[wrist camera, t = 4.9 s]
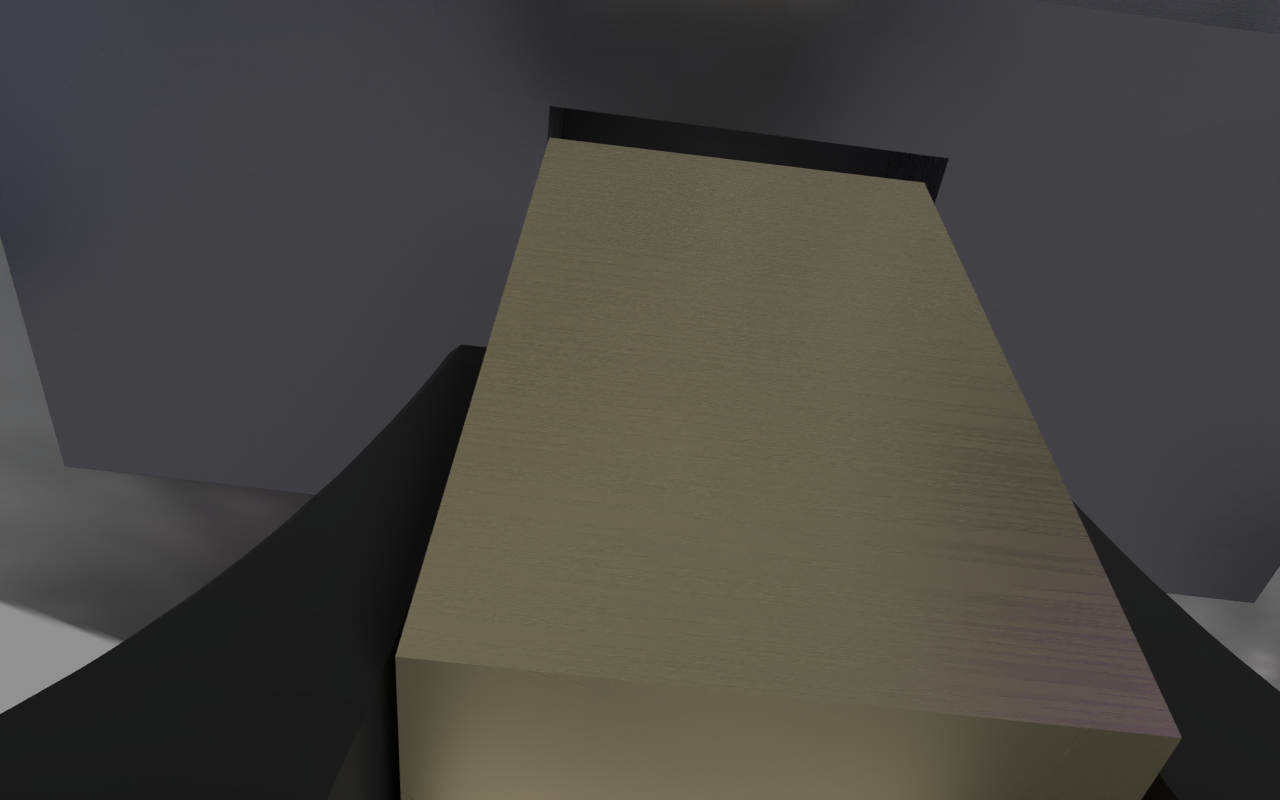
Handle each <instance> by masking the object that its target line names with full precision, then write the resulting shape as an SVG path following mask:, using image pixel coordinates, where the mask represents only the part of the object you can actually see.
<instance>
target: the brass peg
mask: <svg viewBox="0 0 1280 800" xmlns="http://www.w3.org/2000/svg"><path fill="white" fill-rule="evenodd" d="M395 662H396V687H397V713H398V738H399V764H400V789H401V800H1141V799H1142V798H1143V796H1144V795H1145V793H1146V792H1147V790H1148V789H1149V787H1150V786H1151V784H1152V783H1153V781H1154V780H1155V778H1156V777H1157V775H1158V774H1159V772H1160V771H1161V769H1162V768H1163V766H1164V765H1165V763H1166V762H1167V760H1168V758H1169V757H1170V755H1171V754H1172V752H1173V751H1174V749H1175V748H1176V746H1177V745H1178V743H1179V742H1180V740H1181V739H1182V737H1181V734H1180V732H1179V730H1178V728H1177V726H1176V724H1175V722H1174V719H1173V717H1172V715H1171V713H1170V711H1169V709H1168V706H1167V704H1166V702H1165V700H1164V698H1163V696H1162V694H1161V691H1160V689H1159V687H1158V685H1157V683H1156V681H1155V678H1154V676H1153V674H1152V672H1151V670H1150V668H1149V666H1148V663H1147V661H1146V659H1145V657H1144V655H1143V653H1142V650H1141V648H1140V646H1139V644H1138V642H1137V640H1136V638H1135V635H1134V633H1133V631H1132V629H1131V627H1130V625H1129V622H1128V620H1127V618H1126V616H1125V614H1124V612H1123V610H1122V607H1121V605H1120V603H1119V601H1118V599H1117V597H1116V594H1115V592H1114V590H1113V588H1112V586H1111V584H1110V582H1109V579H1108V577H1107V575H1106V573H1105V571H1104V569H1103V566H1102V564H1101V562H1100V560H1099V558H1098V556H1097V554H1096V551H1095V549H1094V547H1093V545H1092V543H1091V541H1090V538H1089V536H1088V534H1087V532H1086V530H1085V528H1084V526H1083V523H1082V521H1081V519H1080V517H1079V515H1078V513H1077V510H1076V508H1075V506H1074V504H1073V502H1072V500H1071V498H1070V495H1069V493H1068V491H1067V489H1066V487H1065V485H1064V482H1063V480H1062V478H1061V476H1060V474H1059V472H1058V470H1057V467H1056V465H1055V463H1054V461H1053V459H1052V457H1051V454H1050V452H1049V450H1048V448H1047V446H1046V444H1045V442H1044V439H1043V437H1042V435H1041V433H1040V431H1039V429H1038V426H1037V424H1036V422H1035V420H1034V418H1033V416H1032V414H1031V411H1030V409H1029V407H1028V405H1027V403H1026V401H1025V398H1024V396H1023V394H1022V392H1021V390H1020V388H1019V386H1018V383H1017V381H1016V379H1015V377H1014V375H1013V373H1012V370H1011V368H1010V366H1009V364H1008V362H1007V360H1006V358H1005V355H1004V353H1003V351H1002V349H1001V347H1000V345H999V342H998V340H997V338H996V336H995V334H994V332H993V330H992V327H991V325H990V323H989V321H988V319H987V317H986V315H985V312H984V310H983V308H982V306H981V304H980V302H979V299H978V297H977V295H976V293H975V291H974V289H973V287H972V284H971V282H970V280H969V278H968V276H967V274H966V271H965V269H964V267H963V265H962V263H961V261H960V259H959V256H958V254H957V252H956V250H955V248H954V246H953V243H952V241H951V239H950V237H949V235H948V233H947V231H946V228H945V226H944V224H943V222H942V220H941V218H940V215H939V213H938V211H937V209H936V207H935V205H934V203H933V200H932V198H931V196H930V194H929V192H928V190H927V187H926V185H925V183H922V182H914V181H905V180H897V179H889V178H880V177H872V176H864V175H855V174H847V173H839V172H831V171H822V170H814V169H806V168H797V167H789V166H781V165H773V164H764V163H756V162H748V161H739V160H731V159H723V158H714V157H706V156H698V155H690V154H681V153H673V152H665V151H656V150H648V149H640V148H631V147H623V146H615V145H607V144H598V143H590V142H582V141H573V140H565V139H557V138H549V140H548V144H547V147H546V151H545V154H544V157H543V161H542V164H541V167H540V171H539V174H538V178H537V181H536V184H535V188H534V191H533V194H532V198H531V201H530V205H529V208H528V211H527V215H526V218H525V221H524V225H523V228H522V231H521V235H520V238H519V242H518V245H517V248H516V252H515V255H514V258H513V262H512V265H511V269H510V272H509V275H508V279H507V282H506V285H505V289H504V292H503V295H502V299H501V302H500V306H499V309H498V312H497V316H496V319H495V322H494V326H493V329H492V333H491V336H490V339H489V343H488V346H487V349H486V353H485V356H484V359H483V363H482V366H481V370H480V373H479V376H478V380H477V383H476V386H475V390H474V393H473V397H472V400H471V403H470V407H469V410H468V413H467V417H466V420H465V424H464V427H463V430H462V434H461V437H460V440H459V444H458V447H457V450H456V454H455V457H454V461H453V464H452V467H451V471H450V474H449V477H448V481H447V484H446V488H445V491H444V494H443V498H442V501H441V504H440V508H439V511H438V514H437V518H436V521H435V525H434V528H433V531H432V535H431V538H430V541H429V545H428V548H427V552H426V555H425V558H424V562H423V565H422V568H421V572H420V575H419V578H418V582H417V585H416V589H415V592H414V595H413V599H412V602H411V605H410V609H409V612H408V616H407V619H406V622H405V626H404V629H403V632H402V636H401V639H400V642H399V646H398V649H397V653H396V656H395Z"/></svg>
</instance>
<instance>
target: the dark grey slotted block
mask: <svg viewBox="0 0 1280 800" xmlns="http://www.w3.org/2000/svg"><path fill="white" fill-rule="evenodd" d="M565 108H569V109H577V110H585V111H592V112H600V113H608V114H615V115H623V116H630V117H638V118H646V119H653V120H661V121H669V122H676V123H684V124H691V125H699V126H707V127H714V128H722V129H730V130H737V131H745V132H752V133H760V134H768V135H775V136H783V137H790V138H798V139H806V140H813V141H821V142H829V143H836V144H844V145H851V146H859V147H867V148H874V149H882V150H890V151H893V153H892V156H891V160H890V164H889V167H888V171H887V174H886V178H889V179H897V180H905V181H914V182H922V183H925V185H926V187H927V190H928V192H929V194H930V196H931V198H932V200H933V203H934V205H935V207H936V209H937V211H938V213H939V215H940V218H941V220H942V222H943V224H944V226H945V228H946V231H947V233H948V235H949V237H950V239H951V241H952V243H953V246H954V248H955V250H956V252H957V254H958V256H959V259H960V261H961V263H962V265H963V267H964V269H965V271H966V274H967V276H968V278H969V280H970V282H971V284H972V287H973V289H974V291H975V293H976V295H977V297H978V299H979V302H980V304H981V306H982V308H983V310H984V312H985V315H986V317H987V319H988V321H989V323H990V325H991V327H992V330H993V332H994V334H995V336H996V338H997V340H998V342H999V345H1000V347H1001V349H1002V351H1003V353H1004V355H1005V358H1006V360H1007V362H1008V364H1009V366H1010V368H1011V370H1012V373H1013V375H1014V377H1015V379H1016V381H1017V383H1018V386H1019V388H1020V390H1021V392H1022V394H1023V396H1024V398H1025V401H1026V403H1027V405H1028V407H1029V409H1030V411H1031V414H1032V416H1033V418H1034V420H1035V422H1036V424H1037V426H1038V429H1039V431H1040V433H1041V435H1042V437H1043V439H1044V442H1045V444H1046V446H1047V448H1048V450H1049V452H1050V454H1051V457H1052V459H1053V461H1054V463H1055V465H1056V467H1057V470H1058V472H1059V474H1060V476H1061V478H1062V480H1063V482H1064V485H1065V487H1066V489H1067V491H1068V493H1069V495H1070V498H1071V499H1072V500H1073V502H1074V503H1075V504H1076V505H1077V506H1078V507H1079V508H1080V509H1081V510H1082V511H1083V512H1084V513H1085V514H1086V515H1087V516H1088V517H1089V518H1090V519H1091V520H1092V521H1093V522H1094V523H1095V524H1096V525H1097V527H1098V528H1099V529H1100V530H1101V531H1102V532H1103V533H1104V534H1105V535H1106V536H1107V537H1108V538H1109V539H1110V540H1111V541H1112V542H1113V543H1114V544H1115V545H1116V546H1117V547H1118V548H1119V549H1120V550H1121V551H1122V552H1123V553H1124V554H1125V555H1126V556H1127V557H1128V558H1129V559H1130V560H1131V561H1132V562H1133V563H1134V564H1135V565H1136V566H1137V567H1138V568H1140V569H1141V570H1142V571H1143V572H1144V573H1145V574H1146V575H1147V576H1148V577H1149V578H1150V579H1151V580H1152V581H1153V582H1154V583H1155V584H1156V585H1157V586H1158V587H1159V588H1161V589H1162V590H1163V591H1164V592H1165V593H1172V594H1180V595H1189V596H1198V597H1207V598H1215V599H1224V600H1233V601H1241V602H1250V603H1254V602H1255V601H1256V599H1257V598H1258V596H1259V595H1260V594H1261V592H1262V591H1263V589H1264V588H1265V586H1266V585H1267V584H1268V582H1269V581H1270V579H1271V578H1272V576H1273V575H1274V573H1275V572H1276V571H1277V569H1278V568H1279V566H1280V0H0V236H1V240H2V243H3V247H4V250H5V254H6V258H7V261H8V265H9V268H10V272H11V276H12V279H13V283H14V286H15V290H16V293H17V297H18V301H19V304H20V308H21V311H22V315H23V318H24V322H25V326H26V329H27V333H28V336H29V340H30V344H31V347H32V351H33V354H34V358H35V361H36V365H37V369H38V372H39V376H40V379H41V383H42V386H43V390H44V394H45V397H46V401H47V404H48V408H49V411H50V415H51V419H52V422H53V426H54V429H55V433H56V437H57V440H58V444H59V447H60V451H61V454H62V458H63V462H64V465H65V466H69V467H78V468H86V469H95V470H104V471H113V472H121V473H130V474H139V475H147V476H156V477H165V478H173V479H182V480H191V481H199V482H208V483H217V484H225V485H234V486H243V487H251V488H260V489H269V490H277V491H286V492H295V493H304V494H312V495H316V494H317V493H319V492H320V491H321V490H322V489H323V488H324V487H325V486H326V485H327V484H328V483H330V482H331V481H332V480H333V479H334V478H335V477H336V476H337V475H338V474H339V473H340V472H341V471H343V470H344V469H345V468H346V467H347V466H348V465H349V464H350V463H351V462H352V461H353V460H354V459H355V458H356V457H357V456H358V455H359V454H360V453H361V452H362V450H363V449H364V448H365V447H366V446H367V445H368V444H369V443H370V442H371V441H372V440H373V439H374V438H375V437H376V436H377V435H378V434H379V433H380V432H381V431H382V430H383V429H384V428H385V427H386V426H387V425H388V424H389V423H390V422H391V421H392V420H393V419H394V417H395V416H396V415H397V414H398V413H399V412H400V411H401V410H402V409H403V407H404V406H405V405H406V404H407V403H408V402H409V401H410V400H411V399H412V397H413V396H414V395H415V394H416V393H417V392H418V391H419V389H420V388H421V387H422V386H423V385H424V384H425V382H426V381H427V380H428V379H429V378H430V376H431V375H432V374H433V373H434V372H435V370H436V369H437V368H438V367H439V366H440V364H441V363H442V362H443V360H444V359H445V358H446V357H447V355H448V354H449V353H450V352H451V351H453V350H454V349H455V348H457V347H458V346H460V345H461V344H462V345H471V346H480V347H487V346H488V343H489V339H490V336H491V333H492V329H493V326H494V322H495V319H496V316H497V312H498V309H499V306H500V302H501V299H502V295H503V292H504V289H505V285H506V282H507V279H508V275H509V272H510V269H511V265H512V262H513V258H514V255H515V252H516V248H517V245H518V242H519V238H520V235H521V231H522V228H523V225H524V221H525V218H526V215H527V211H528V208H529V205H530V201H531V198H532V194H533V191H534V188H535V184H536V181H537V178H538V174H539V171H540V167H541V164H542V161H543V157H544V154H545V151H546V147H547V144H548V140H549V138H557V139H562V135H563V122H564V109H565Z"/></svg>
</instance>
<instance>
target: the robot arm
mask: <svg viewBox="0 0 1280 800" xmlns="http://www.w3.org/2000/svg"><path fill="white" fill-rule="evenodd" d="M486 349H487V347H480V346H471V345H462V344H461V345H460V346H458V347H457V348H455V349H454V350H453V351H451V352H450V353H449V354H448V355H447V357H446V358H445V359H444V360H443V362H442V363H441V364H440V366H439V367H438V368H437V369H436V370H435V372H434V373H433V374H432V375H431V376H430V378H429V379H428V380H427V381H426V382H425V384H424V385H423V386H422V387H421V388H420V389H419V391H418V392H417V393H416V394H415V395H414V396H413V397H412V399H411V400H410V401H409V402H408V403H407V404H406V405H405V406H404V407H403V409H402V410H401V411H400V412H399V413H398V414H397V415H396V416H395V417H394V419H393V420H392V421H391V422H390V423H389V424H388V425H387V426H386V427H385V428H384V429H383V430H382V431H381V432H380V433H379V434H378V435H377V436H376V437H375V438H374V439H373V440H372V441H371V442H370V443H369V444H368V445H367V446H366V447H365V448H364V449H363V450H362V452H361V453H360V454H359V455H358V456H357V457H356V458H355V459H354V460H353V461H352V462H351V463H350V464H349V465H348V466H347V467H346V468H345V469H344V470H343V471H341V472H340V473H339V474H338V475H337V476H336V477H335V478H334V479H333V480H332V481H331V482H330V483H328V484H327V485H326V486H325V487H324V488H323V489H322V490H321V491H320V492H319V493H317V494H316V495H315V496H314V497H313V498H312V499H311V500H310V501H309V502H307V503H306V504H305V505H304V506H303V507H302V508H301V509H300V510H299V511H298V512H296V513H295V514H294V515H293V516H292V517H291V518H290V519H289V520H288V521H286V522H285V523H284V524H283V525H282V526H281V527H279V528H278V529H277V530H276V531H275V532H273V533H272V534H271V535H270V536H269V537H267V538H266V539H265V540H264V541H262V542H261V543H260V544H259V545H258V546H256V547H255V548H254V549H253V550H251V551H250V552H249V553H248V554H246V555H245V556H244V557H243V558H241V559H240V560H239V561H237V562H236V563H235V564H233V565H232V566H231V567H229V568H228V569H227V570H225V571H224V572H223V573H221V574H220V575H219V576H217V577H216V578H215V579H214V580H212V581H211V582H210V583H208V584H207V585H206V586H204V587H203V588H201V589H200V590H199V591H197V592H196V593H195V594H193V595H192V596H190V597H189V598H187V599H186V600H184V601H183V602H181V603H180V604H179V605H177V606H176V607H174V608H173V609H171V610H170V611H168V612H167V613H165V614H164V615H162V616H161V617H159V618H158V619H157V620H155V621H154V622H152V623H151V624H149V625H148V626H146V627H145V628H143V629H142V630H140V631H139V632H137V633H136V634H135V635H133V636H131V637H130V638H128V639H127V640H125V641H124V642H122V643H121V644H119V645H118V646H116V647H115V648H113V649H111V650H110V651H108V652H107V653H105V654H103V655H102V656H100V657H99V658H97V659H95V660H94V661H92V662H91V663H89V664H87V665H86V666H84V667H82V668H81V669H79V670H77V671H75V672H74V673H72V674H71V675H68V676H67V677H65V678H63V679H61V680H60V681H58V682H56V683H55V684H53V685H51V686H49V687H47V688H46V689H44V690H42V691H40V692H39V693H37V694H35V695H34V696H32V697H30V698H28V699H26V700H25V701H23V702H21V703H19V704H18V705H16V706H14V707H12V708H11V709H9V710H7V711H5V712H3V713H2V714H0V800H401V789H400V764H399V738H398V713H397V687H396V662H395V656H396V653H397V649H398V646H399V642H400V639H401V636H402V632H403V629H404V626H405V622H406V619H407V616H408V612H409V609H410V605H411V602H412V599H413V595H414V592H415V589H416V585H417V582H418V578H419V575H420V572H421V568H422V565H423V562H424V558H425V555H426V552H427V548H428V545H429V541H430V538H431V535H432V531H433V528H434V525H435V521H436V518H437V514H438V511H439V508H440V504H441V501H442V498H443V494H444V491H445V488H446V484H447V481H448V477H449V474H450V471H451V467H452V464H453V461H454V457H455V454H456V450H457V447H458V444H459V440H460V437H461V434H462V430H463V427H464V424H465V420H466V417H467V413H468V410H469V407H470V403H471V400H472V397H473V393H474V390H475V386H476V383H477V380H478V376H479V373H480V370H481V366H482V363H483V359H484V356H485V353H486ZM1071 500H1072V499H1071ZM1072 502H1073V500H1072ZM1073 504H1074V506H1075V508H1076V510H1077V513H1078V515H1079V517H1080V519H1081V521H1082V523H1083V526H1084V528H1085V530H1086V532H1087V534H1088V536H1089V538H1090V541H1091V543H1092V545H1093V547H1094V549H1095V551H1096V554H1097V556H1098V558H1099V560H1100V562H1101V564H1102V566H1103V569H1104V571H1105V573H1106V575H1107V577H1108V579H1109V582H1110V584H1111V586H1112V588H1113V590H1114V592H1115V594H1116V597H1117V599H1118V601H1119V603H1120V605H1121V607H1122V610H1123V612H1124V614H1125V616H1126V618H1127V620H1128V622H1129V625H1130V627H1131V629H1132V631H1133V633H1134V635H1135V638H1136V640H1137V642H1138V644H1139V646H1140V648H1141V650H1142V653H1143V655H1144V657H1145V659H1146V661H1147V663H1148V666H1149V668H1150V670H1151V672H1152V674H1153V676H1154V678H1155V681H1156V683H1157V685H1158V687H1159V689H1160V691H1161V694H1162V696H1163V698H1164V700H1165V702H1166V704H1167V706H1168V709H1169V711H1170V713H1171V715H1172V717H1173V719H1174V722H1175V724H1176V726H1177V728H1178V730H1179V732H1180V734H1181V737H1182V739H1181V740H1180V742H1179V743H1178V745H1177V746H1176V748H1175V749H1174V751H1173V752H1172V754H1171V755H1170V757H1169V758H1168V760H1167V762H1166V763H1165V765H1164V766H1163V768H1162V769H1161V771H1160V772H1159V774H1158V775H1157V777H1156V778H1155V780H1154V781H1153V783H1152V784H1151V786H1150V787H1149V789H1148V790H1147V792H1146V793H1145V795H1144V796H1143V798H1142V799H1141V800H1280V691H1278V690H1277V689H1276V688H1275V687H1274V686H1272V685H1271V684H1270V683H1269V682H1267V681H1266V680H1265V679H1264V678H1262V677H1261V676H1260V675H1259V674H1257V673H1256V672H1255V671H1254V670H1252V669H1251V668H1250V667H1249V666H1248V665H1246V664H1245V663H1244V662H1243V661H1241V660H1240V659H1239V658H1238V657H1236V656H1235V655H1234V654H1233V653H1232V652H1231V651H1229V650H1228V649H1227V648H1226V647H1225V646H1224V645H1222V644H1221V643H1220V642H1219V641H1218V640H1217V639H1215V638H1214V637H1213V636H1212V635H1211V634H1210V633H1208V632H1207V631H1206V630H1205V629H1204V628H1203V627H1202V626H1201V625H1199V624H1198V623H1197V622H1196V621H1195V620H1194V619H1193V618H1192V617H1191V616H1190V615H1189V614H1188V613H1186V612H1185V611H1184V610H1183V609H1182V608H1181V607H1180V606H1179V605H1178V604H1177V603H1176V602H1175V601H1174V600H1172V599H1171V598H1170V597H1169V596H1168V595H1167V594H1166V593H1165V592H1164V591H1163V590H1162V589H1161V588H1159V587H1158V586H1157V585H1156V584H1155V583H1154V582H1153V581H1152V580H1151V579H1150V578H1149V577H1148V576H1147V575H1146V574H1145V573H1144V572H1143V571H1142V570H1141V569H1140V568H1138V567H1137V566H1136V565H1135V564H1134V563H1133V562H1132V561H1131V560H1130V559H1129V558H1128V557H1127V556H1126V555H1125V554H1124V553H1123V552H1122V551H1121V550H1120V549H1119V548H1118V547H1117V546H1116V545H1115V544H1114V543H1113V542H1112V541H1111V540H1110V539H1109V538H1108V537H1107V536H1106V535H1105V534H1104V533H1103V532H1102V531H1101V530H1100V529H1099V528H1098V527H1097V525H1096V524H1095V523H1094V522H1093V521H1092V520H1091V519H1090V518H1089V517H1088V516H1087V515H1086V514H1085V513H1084V512H1083V511H1082V510H1081V509H1080V508H1079V507H1078V506H1077V505H1076V504H1075V503H1074V502H1073Z"/></svg>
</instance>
